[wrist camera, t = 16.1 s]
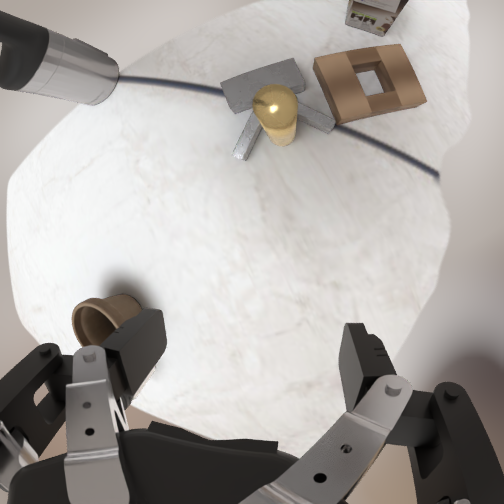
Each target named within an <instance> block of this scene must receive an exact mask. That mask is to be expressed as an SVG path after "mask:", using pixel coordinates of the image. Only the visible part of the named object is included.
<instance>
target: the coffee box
mask: <svg viewBox="0 0 504 504" xmlns="http://www.w3.org/2000/svg"><path fill="white" fill-rule="evenodd" d="M407 2H408V0H349V3H348V10H347V16H346V22H345V24H346V25H349V26H352V27H356V28H359V29H362V30H365V31H368V32H370V33H373V34H376V35H379V36H382V37H383V36H384V35H385V33H386V32H387V31H388V29H389V28H390V26H391V25H392V23H393V22H394V21H395V19H396V17H397V16H398V15H399V13H400V12H401V10H402V9H403V7H404V6H405V5H406V3H407Z"/></svg>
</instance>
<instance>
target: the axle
mask: <svg viewBox="0 0 504 504" xmlns="http://www.w3.org/2000/svg"><path fill="white" fill-rule="evenodd" d="M252 107H253V111H254V113H255V115H256V117H257V118H258V120H259V122H260V123H261V125H262V127H263V128H264V130H265V132H266V133H267V135H268V137H269V138H270V140H271V141H272V142H273V143H274V144H275V145H277V146H287V145H289V144H290V143H292V142H293V140H294V138H295V133H296V122H297V111H298V101H297V98H296V96H295V94H294V93H293V91H292V90H290V89H289V88H288V87H286V86H283V85H280V84H270V85H267V86H264V87H262V88H261V89H260V90H259V91H258V92H257V93H256V94H255V96H254V98H253V102H252Z"/></svg>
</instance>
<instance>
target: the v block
mask: <svg viewBox="0 0 504 504" xmlns="http://www.w3.org/2000/svg"><path fill="white" fill-rule="evenodd" d="M220 84H221V87H222V89H223V92H224V94H225V97H226V99H227V102H228V105H229V107H230V109H231V110H232V111H233V112H234V113H235V114H237V113H239V112H242V111H245V110H247V109H250V108H253V107H252V102H253V98H254V96H255V94H256V93H257V92H258V91H259V90H260V89H261V88H262V87H264V86H267V85H270V84H280V85H283V86H286V87H288V88H289V89H290V90H292V91H293V93H294V94H296V93H299V92H303V91H304V88H305V82H304V80H303V77H302V75H301V73H300V71H299V69H298V67H297V64H296V62H295V60H294V58H291V59H288V60H284V61H281V62H277V63H274V64H271V65H268V66H265V67H262V68H259V69H256V70H253V71H250V72H247V73H244V74H241V75H239V76H236V77H233V78H231V79H228V80H226V81H223V82H221V83H220ZM297 119H298V120H300V121H302V122H304V123H307V124H309V125H311V126H313V127H315V128H317V129H319V130H321V131H323V132H325V133H327V134H329V132H330V131H331V130H332V128H333V126H334V124H335V122H336V120H334V119H332V118H330V117H328V116H326V115H324V114H322V113H320V112H318V111H316V110H314V109H311V108H309V107H307V106H305V105H303V104H301V103H299V102H298V111H297ZM261 129H262V125H261V123H260V122H259V120H258V118H257V117H256V115H255V113H254V111H253V112H252V114H251V116H250V118H249V120H248V122H247V124H246V126H245V128H244V130H243V132H242V134H241V136H240V138H239V140H238V142H237V144H236V147H235V149H234V151H233V153H232V155H233V156H235V157H237V158H240V159H242V160H245V161H246V160H247V158H248V156H249V154H250V152H251V149H252V147H253V145H254V143H255V141H256V139H257V137H258V135H259V133H260V131H261Z"/></svg>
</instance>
